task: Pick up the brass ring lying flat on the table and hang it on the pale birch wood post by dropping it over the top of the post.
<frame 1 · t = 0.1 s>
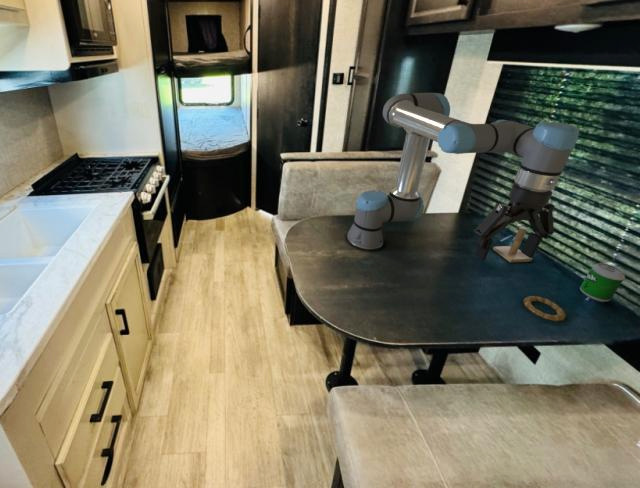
hand: (503, 256, 86), 28 cm above the table, tool pointing down, fingers open, 13 cm apart
rack: (511, 255, 131), on the table
ring: (543, 308, 104), point 1 cm above the table
soda can: (593, 296, 110), on the table
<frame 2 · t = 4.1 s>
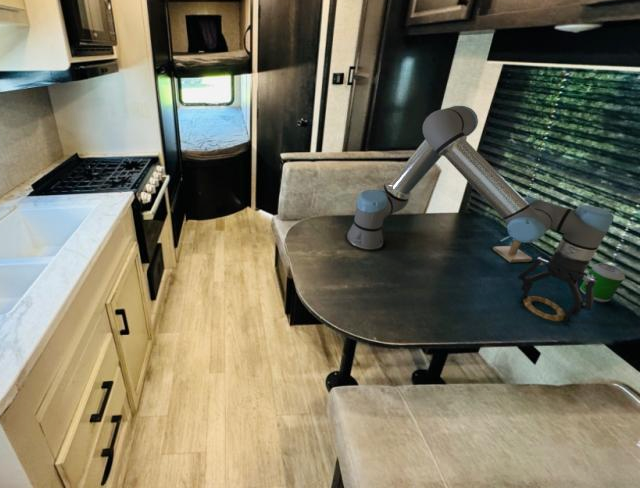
hand: (543, 308, 104), 1 cm above the table, tool pointing down, fingers closed on ring, 10 cm apart
ring: (543, 308, 104), point 1 cm above the table, touching gripper
everything else where it was.
when the fingers open (12 cm above the table, at t = 12.3 s): ring drops 10 cm, resting on rack.
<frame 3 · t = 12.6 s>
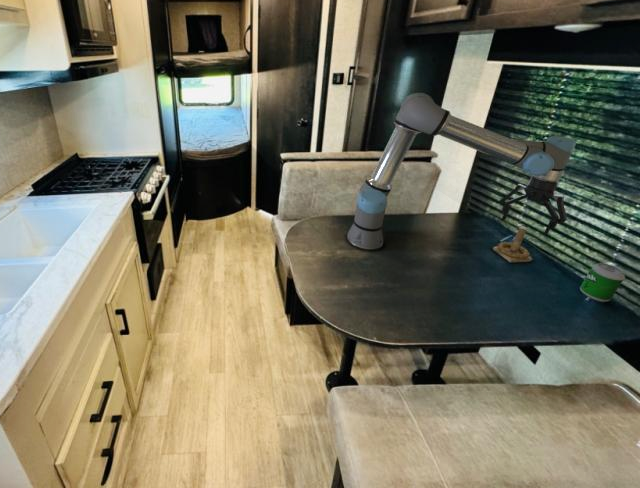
hand: (523, 226, 126), 14 cm above the table, tool pointing down, fingers open, 13 cm apart
ring: (513, 250, 130), point 2 cm above the table, touching rack
everything else where it was.
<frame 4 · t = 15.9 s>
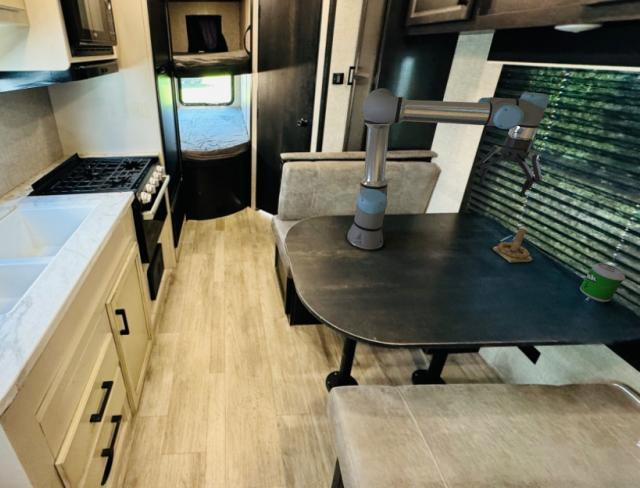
hand: (500, 189, 123), 29 cm above the table, tool pointing down, fingers open, 13 cm apart
nothing on the table moved.
at the end: ring 0.1 cm off-centre on the rack, point 2.5 cm above the rack's base; the gripper is holding nothing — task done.
